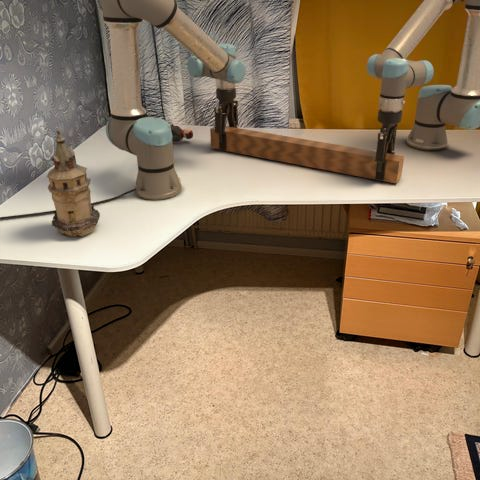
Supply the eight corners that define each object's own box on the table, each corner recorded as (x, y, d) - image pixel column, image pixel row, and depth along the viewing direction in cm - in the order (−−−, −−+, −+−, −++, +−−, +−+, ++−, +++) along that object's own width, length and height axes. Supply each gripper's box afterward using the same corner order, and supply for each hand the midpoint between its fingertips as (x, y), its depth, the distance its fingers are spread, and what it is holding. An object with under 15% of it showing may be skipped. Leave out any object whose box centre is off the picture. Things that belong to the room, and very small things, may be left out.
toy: (134, 117, 234) (200, 117, 228) (136, 131, 237) (202, 131, 231) (110, 136, 212) (182, 136, 205) (113, 151, 215) (184, 152, 208)
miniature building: (80, 214, 164) (63, 117, 149) (111, 225, 157) (96, 125, 142) (44, 231, 154) (22, 130, 140) (75, 244, 147) (55, 139, 133)
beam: (210, 148, 212) (210, 128, 209) (218, 143, 217) (218, 124, 213) (396, 183, 179) (399, 161, 175) (401, 177, 184) (404, 155, 180)
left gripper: (220, 94, 192) (222, 155, 203) (247, 83, 206) (247, 141, 217) (203, 92, 195) (205, 152, 206) (230, 81, 209) (231, 138, 221)
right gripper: (393, 119, 164) (384, 188, 175) (410, 103, 178) (401, 168, 189) (369, 115, 167) (362, 183, 179) (387, 100, 181) (380, 165, 193)
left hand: (227, 146), depth 212 cm, fingers closed on beam, 6 cm apart
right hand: (382, 176), depth 184 cm, fingers closed on beam, 6 cm apart
